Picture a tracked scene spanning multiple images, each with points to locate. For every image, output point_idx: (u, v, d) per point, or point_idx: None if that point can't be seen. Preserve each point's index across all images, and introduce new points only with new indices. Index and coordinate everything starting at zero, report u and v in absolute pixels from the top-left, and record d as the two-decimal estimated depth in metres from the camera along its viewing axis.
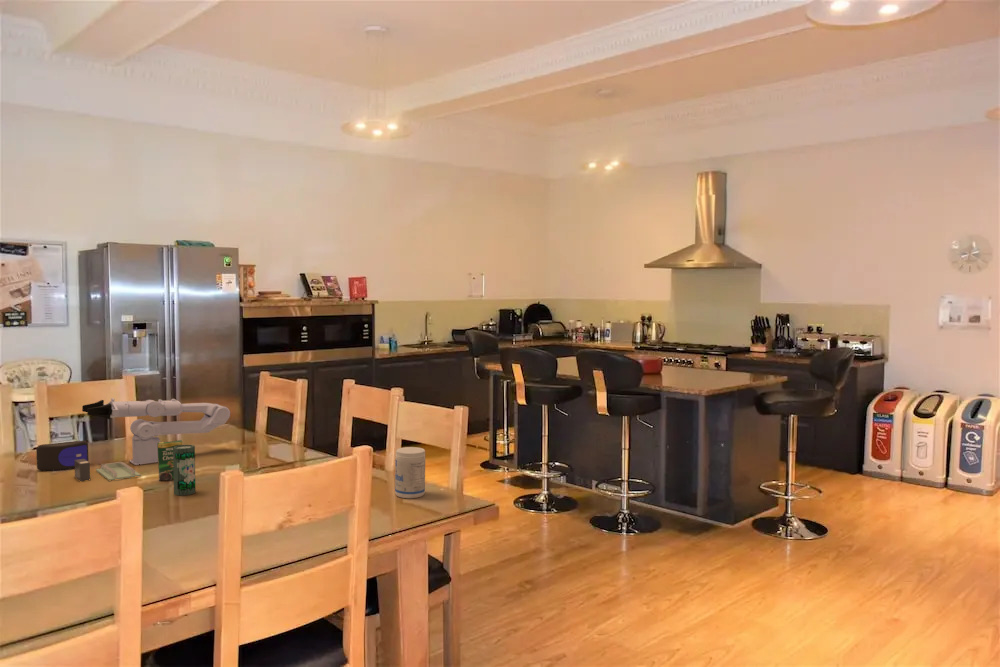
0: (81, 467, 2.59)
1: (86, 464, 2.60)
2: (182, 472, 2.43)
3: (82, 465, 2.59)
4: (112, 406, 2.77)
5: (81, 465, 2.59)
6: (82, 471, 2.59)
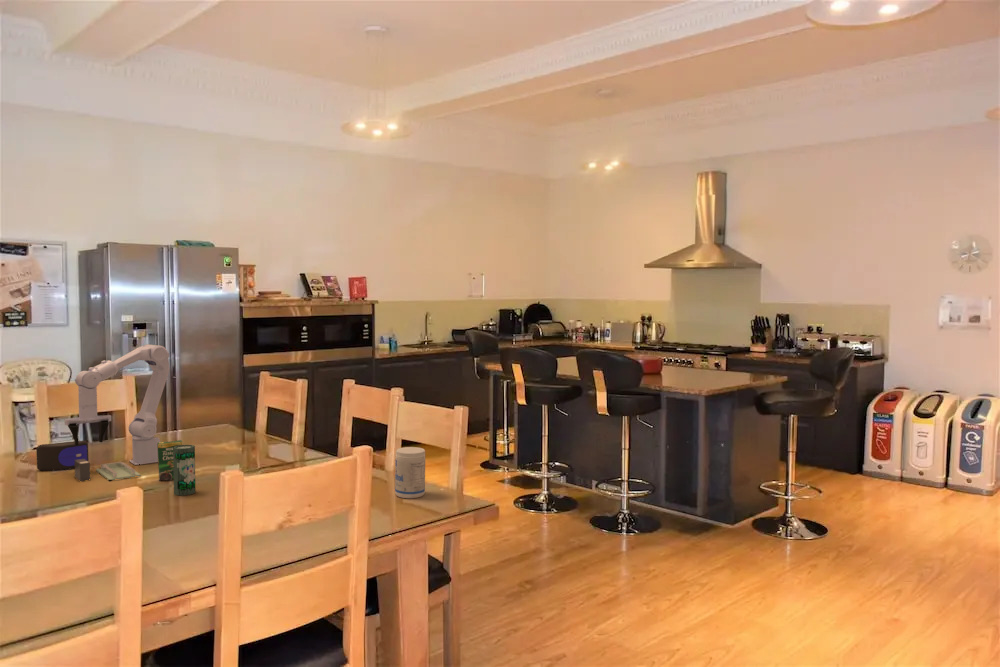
0: (81, 467, 2.59)
1: (86, 464, 2.60)
2: (182, 472, 2.43)
3: (82, 465, 2.59)
4: None
5: (81, 465, 2.59)
6: (82, 471, 2.59)
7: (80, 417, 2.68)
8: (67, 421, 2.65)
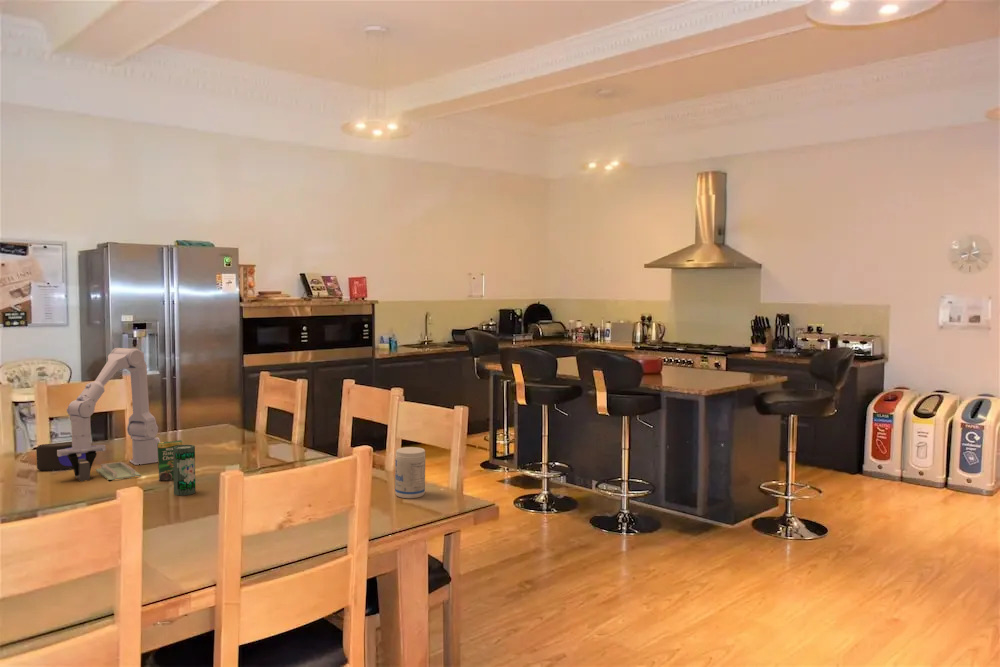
0: (81, 467, 2.59)
1: (86, 464, 2.60)
2: (182, 472, 2.43)
3: (82, 465, 2.59)
4: None
5: (81, 465, 2.59)
6: (82, 471, 2.59)
7: (73, 448, 2.60)
8: (60, 452, 2.57)
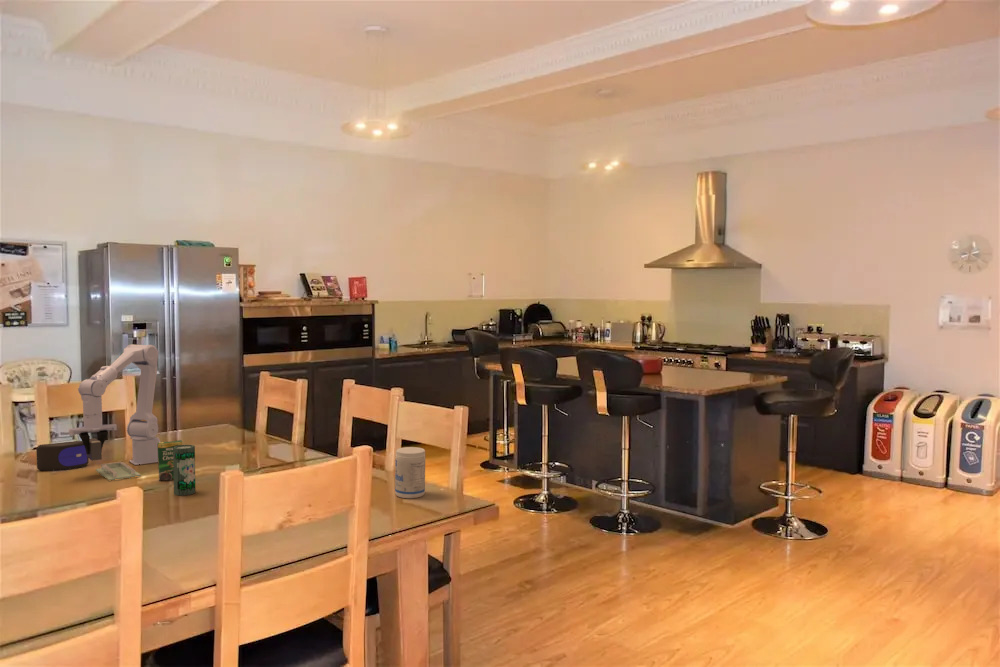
0: (93, 446, 2.60)
1: (98, 443, 2.61)
2: (182, 472, 2.43)
3: (94, 444, 2.61)
4: None
5: (93, 444, 2.60)
6: (94, 450, 2.61)
7: (85, 427, 2.61)
8: (71, 431, 2.59)
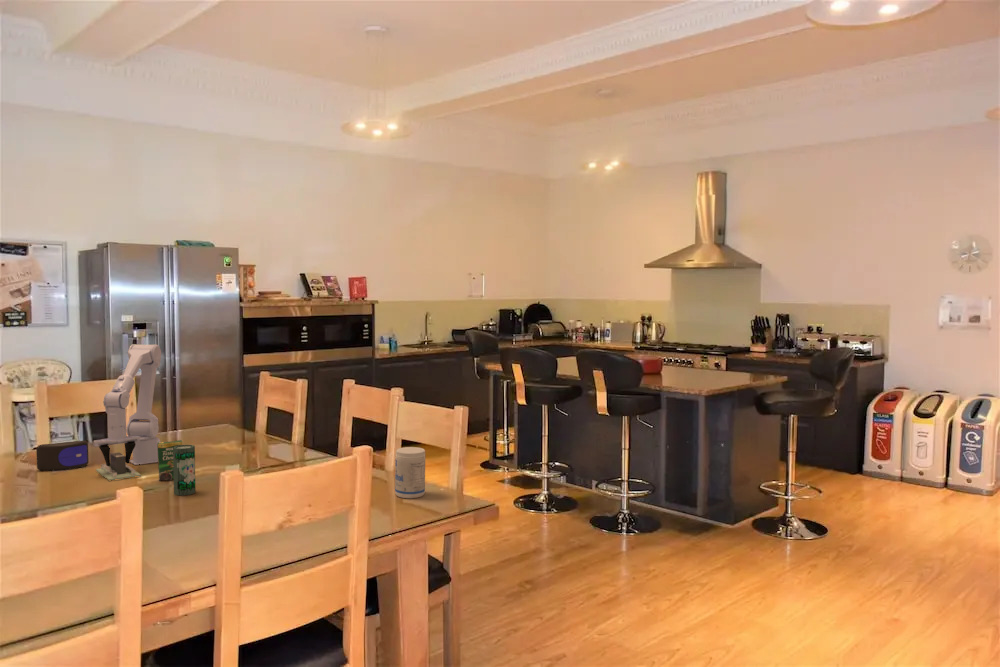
0: (117, 460, 2.65)
1: (122, 457, 2.66)
2: (182, 472, 2.43)
3: (118, 458, 2.65)
4: (124, 440, 2.69)
5: (117, 458, 2.65)
6: (118, 464, 2.65)
7: (109, 438, 2.66)
8: (96, 443, 2.63)
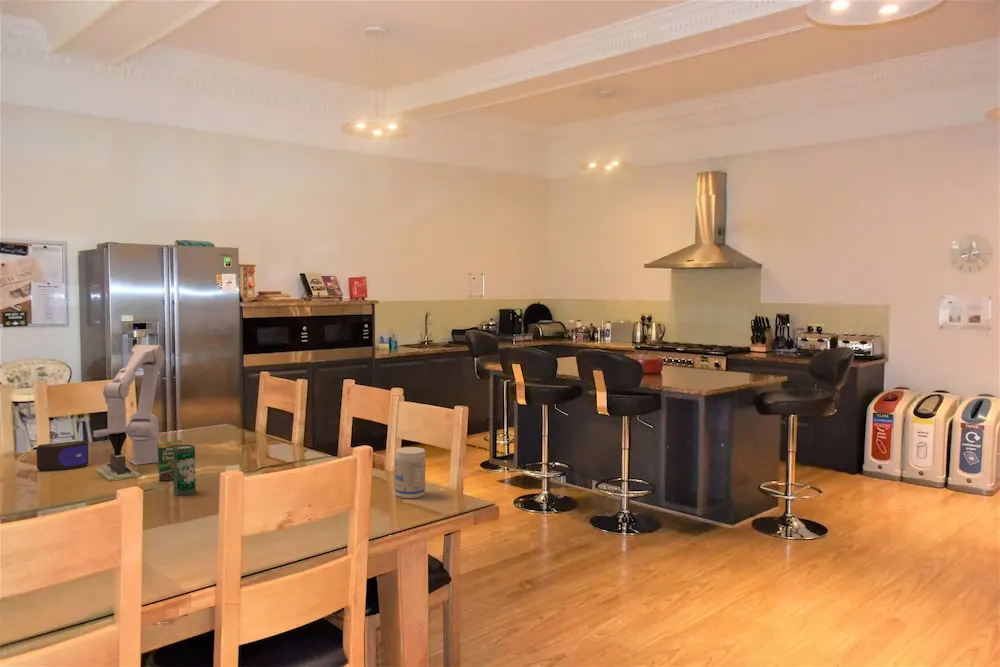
0: (117, 460, 2.65)
1: (122, 457, 2.66)
2: (182, 472, 2.43)
3: (118, 458, 2.65)
4: None
5: (117, 458, 2.65)
6: (118, 464, 2.65)
7: (109, 429, 2.66)
8: (96, 433, 2.63)
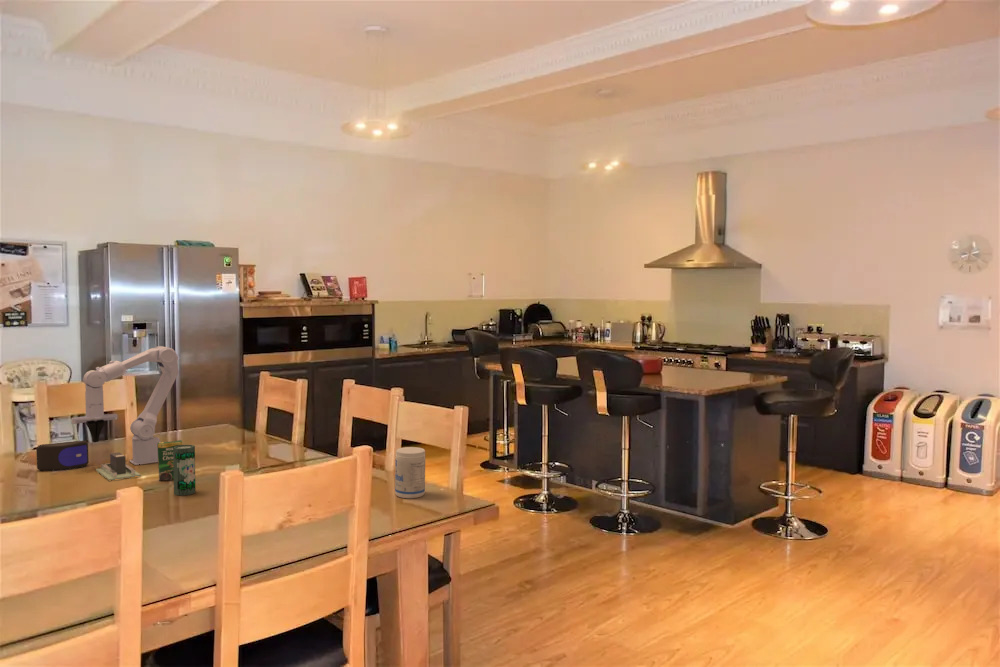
0: (117, 460, 2.65)
1: (122, 457, 2.66)
2: (182, 472, 2.43)
3: (118, 458, 2.65)
4: None
5: (117, 458, 2.65)
6: (118, 464, 2.65)
7: (87, 416, 2.73)
8: (74, 420, 2.70)
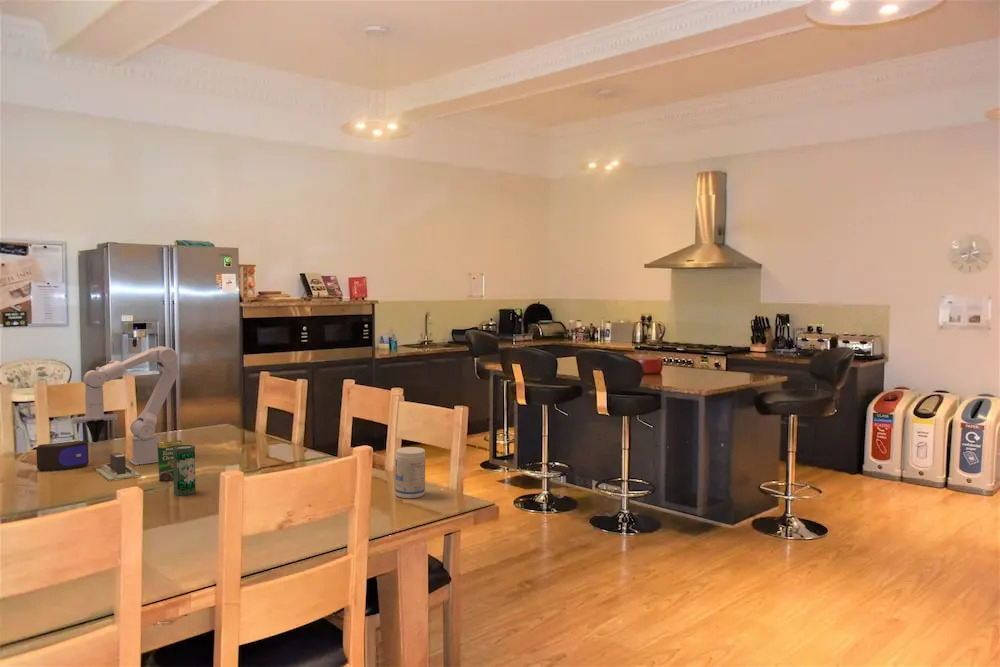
0: (117, 460, 2.65)
1: (122, 457, 2.66)
2: (182, 472, 2.43)
3: (118, 458, 2.65)
4: None
5: (117, 458, 2.65)
6: (118, 464, 2.65)
7: (87, 416, 2.73)
8: (74, 420, 2.70)
